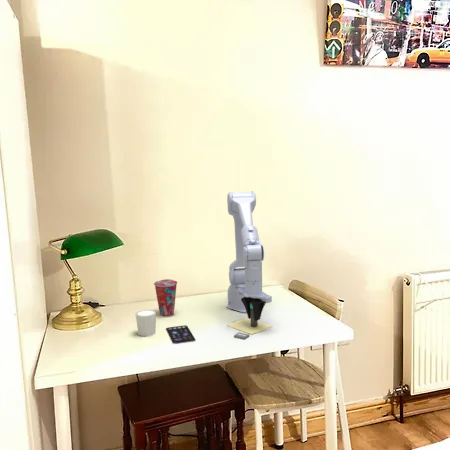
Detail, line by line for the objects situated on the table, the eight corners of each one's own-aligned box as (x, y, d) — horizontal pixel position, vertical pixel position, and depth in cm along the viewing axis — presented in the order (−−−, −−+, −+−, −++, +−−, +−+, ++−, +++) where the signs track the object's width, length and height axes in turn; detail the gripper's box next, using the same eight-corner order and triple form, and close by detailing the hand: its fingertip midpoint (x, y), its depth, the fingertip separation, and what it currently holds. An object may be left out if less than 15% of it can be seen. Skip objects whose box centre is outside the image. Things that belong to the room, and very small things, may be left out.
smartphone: (186, 324, 174) (196, 340, 160) (186, 326, 174) (196, 342, 160) (165, 327, 172) (172, 343, 158) (165, 329, 172) (173, 345, 158)
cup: (181, 315, 184) (180, 283, 182) (159, 319, 180) (158, 287, 179) (173, 308, 192) (171, 278, 190) (151, 312, 189) (150, 281, 187)
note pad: (226, 325, 173) (226, 324, 173) (247, 318, 179) (247, 317, 179) (251, 334, 164) (251, 333, 164) (272, 326, 171) (272, 326, 171)
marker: (248, 325, 171) (248, 303, 170) (254, 323, 173) (253, 301, 172) (254, 327, 169) (253, 304, 168) (259, 325, 171) (259, 302, 170)
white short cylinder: (134, 331, 169) (133, 311, 168) (154, 328, 172) (153, 308, 171) (139, 338, 163) (138, 317, 162) (159, 334, 166) (158, 314, 165)
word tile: (233, 337, 162) (233, 335, 162) (238, 334, 165) (238, 332, 165) (244, 339, 160) (244, 337, 160) (249, 336, 163) (249, 334, 162)
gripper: (229, 278, 171) (230, 316, 173) (261, 286, 161) (261, 327, 163) (244, 274, 176) (245, 311, 178) (275, 281, 165) (276, 321, 167)
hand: (254, 318), depth 171 cm, fingers closed on marker, 2 cm apart
